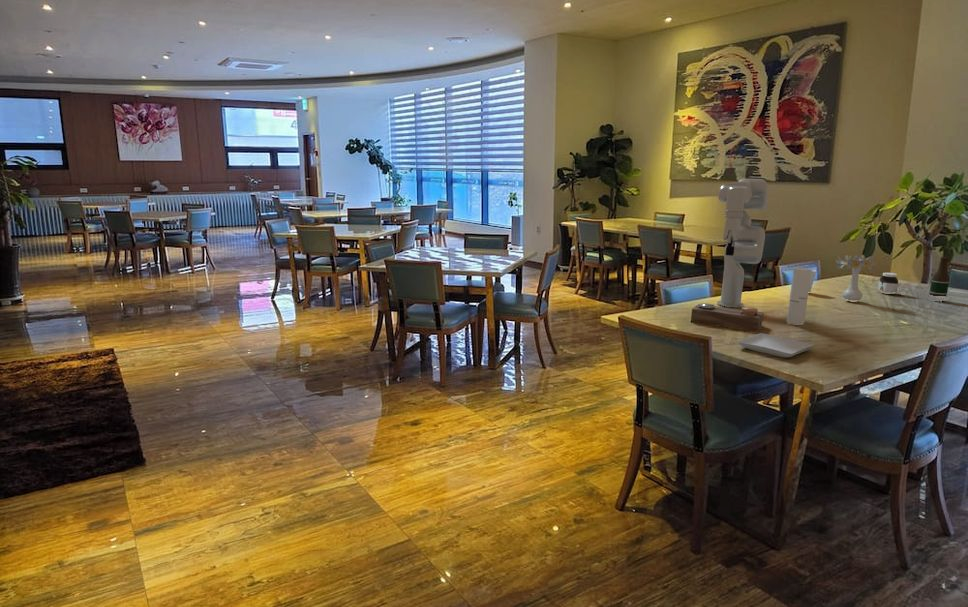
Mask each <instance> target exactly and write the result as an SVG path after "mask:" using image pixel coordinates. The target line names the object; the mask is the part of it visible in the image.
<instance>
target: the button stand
mask: <svg viewBox="0 0 968 607" xmlns="http://www.w3.org/2000/svg"><path fill="white" fill-rule="evenodd" d="M699 304H700V303H698V304H696V305H695V306H694V307H693V308H691V316H690V322H691V321H692V322H691V323H696V322H698V323H699V324H703V325H704V324H705V325H710V324H711V326H716V325H719V326H718V327H723V326H726V327H725V328H730V327H732V328H731V329H737V330H743V329H744V330H745V331H752V332H757V331H758V332H759V330H760V329H761V327H762V326H763V319H764V312H761V311H757V312H756V314H755V316H752V315H745V314H743V311H742V309H741V308H739V309H738V308H731V307H724V306H715V305H714V309H713V310H708V309H700V307H699ZM698 323H697V324H698Z"/></svg>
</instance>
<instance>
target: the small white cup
mask: <svg viewBox="0 0 968 607" xmlns="http://www.w3.org/2000/svg"><path fill="white" fill-rule="evenodd" d="M698 304H699V307H700V309H708V310H713V309H714V306H715V304H711V303H708V302H706V303H698Z"/></svg>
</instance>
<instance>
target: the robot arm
mask: <svg viewBox="0 0 968 607" xmlns="http://www.w3.org/2000/svg"><path fill="white" fill-rule="evenodd" d="M717 196H718V197H717V199H718V200H719V202H721V203H725V212H724V214H725V215H724V218H725V225H724V228H723V229H724V230H723V238H722V239H723V240H725V241H726V245H725V247H724V251H723V257H724V260H723V261H724V262H723V264H724V268H723V275H722V276H723V277H722V287H721V293H720V294H721V295H720V300H717V302H716V303H717V305H718V306H720V305H721V306H720V307H724V306H725V308H731V307H732V309H738V308H739V309H741V308H742V307H745V304H744V303H743V302H742V294H743V287H744V277H745V270H744V268H743V266H742V265H741V264H752V265H757V264H760V262H761V260H762V258H763V251H764V245H765V241H766V240H765V238H766V231H765V229H764V227H762V226H756V225H755V226H754V225H752V218H751V216H750V215H749V213H748V212H747V211H746V210H756V211H757V210H760V211H761V210H764V209H766V208H767V206H768V203H769V185H768V182H767V181H766V180H765V179H763V178H742V179H739V180H738V181H735V182H729V183H724V184H722V185H721V186H720V187H719V190H718V194H717Z"/></svg>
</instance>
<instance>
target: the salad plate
mask: <svg viewBox="0 0 968 607" xmlns="http://www.w3.org/2000/svg"><path fill="white" fill-rule="evenodd" d="M736 341H737V340H736ZM737 344H738V345H740V346H741V347H743V348H745V349H748V350H750V351H753V352H758V353H761V354H766V355H770V356H774V357H779V358H783V359H787V358H791V357H793V356H796V355H798V354H801V353H803V352H807V351H809V350H811V349H812V348H814V347H815V344H814V343H813V344H812V343H809V342H805V341H802V340H797V339H792V338H789V337H788V338H787V337H783V336H779V335H773V334H769V333H768V334H767V333H761V332H760V333H757V334H754V335H752V336H747V337H745V338H743V339H738V341H737Z"/></svg>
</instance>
